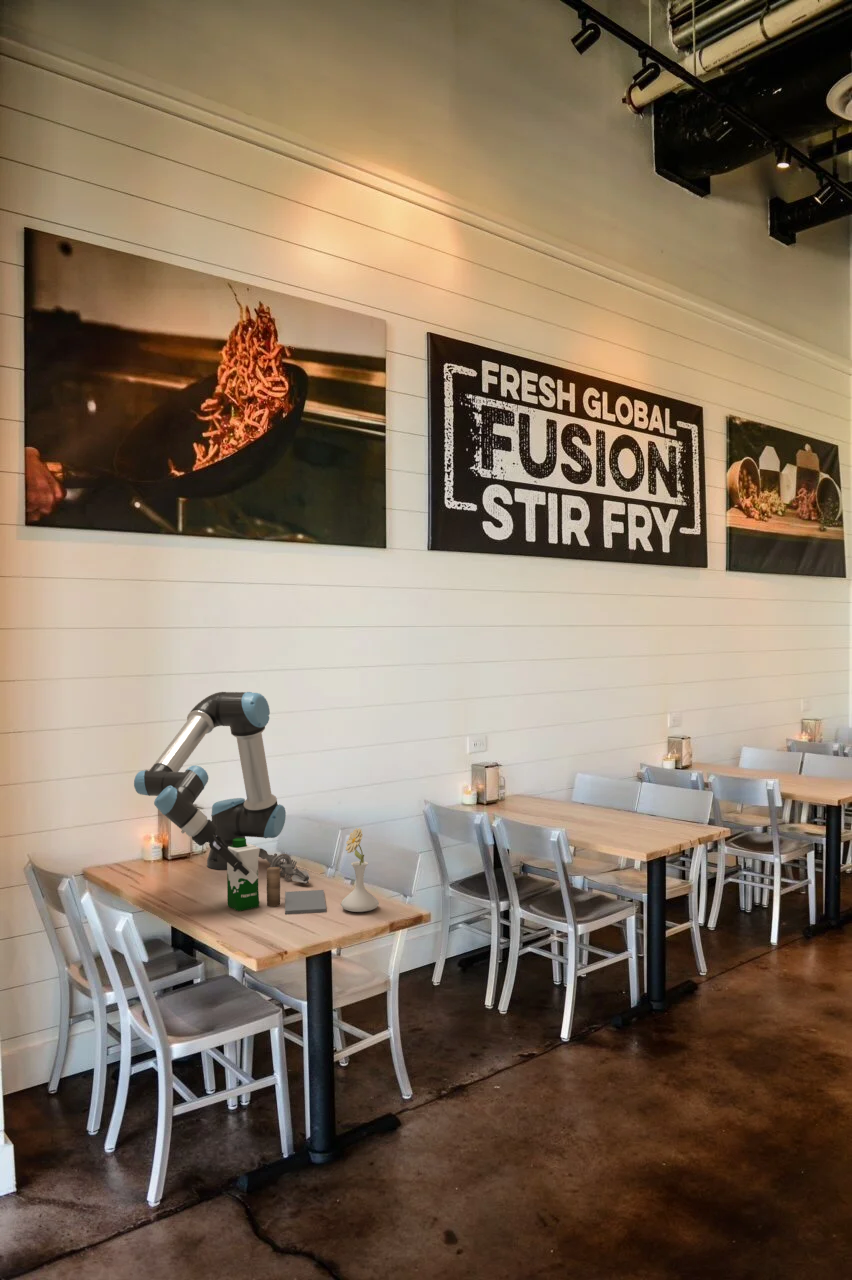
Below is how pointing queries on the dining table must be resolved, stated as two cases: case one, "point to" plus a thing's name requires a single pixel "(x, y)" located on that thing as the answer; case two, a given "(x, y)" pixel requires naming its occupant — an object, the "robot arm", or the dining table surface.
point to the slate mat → (305, 902)
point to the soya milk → (238, 886)
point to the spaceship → (286, 866)
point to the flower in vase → (358, 880)
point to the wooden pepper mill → (273, 886)
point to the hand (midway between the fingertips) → (252, 875)
